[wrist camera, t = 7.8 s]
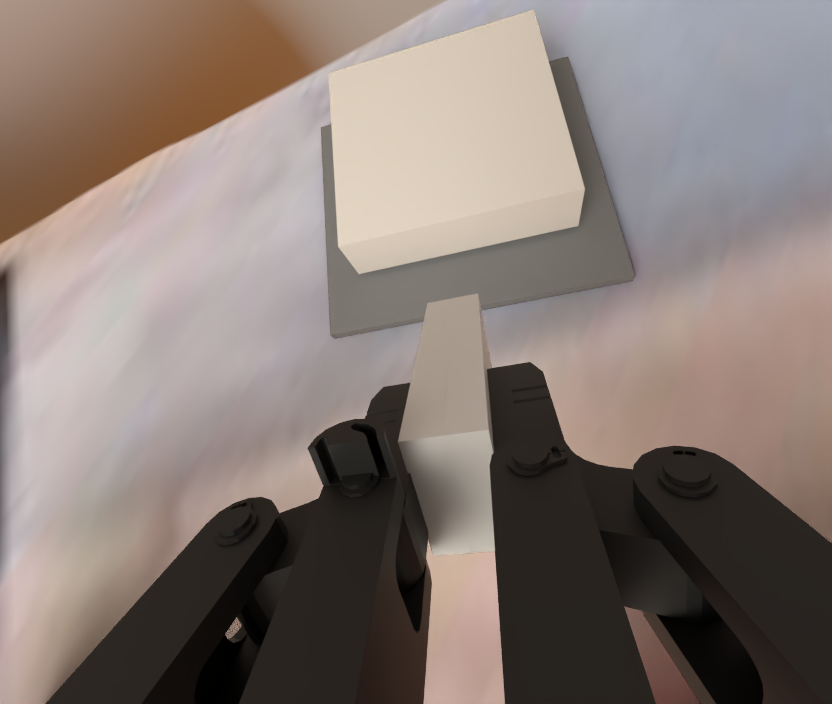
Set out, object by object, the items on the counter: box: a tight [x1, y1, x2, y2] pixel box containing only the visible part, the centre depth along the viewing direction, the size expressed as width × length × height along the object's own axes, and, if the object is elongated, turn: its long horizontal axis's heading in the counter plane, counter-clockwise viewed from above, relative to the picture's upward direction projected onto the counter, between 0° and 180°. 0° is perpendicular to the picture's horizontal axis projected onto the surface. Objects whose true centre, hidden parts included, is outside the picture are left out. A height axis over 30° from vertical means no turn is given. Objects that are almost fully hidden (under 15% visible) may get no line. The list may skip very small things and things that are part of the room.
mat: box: [321, 57, 635, 338], centre depth 26 cm, size 16×15×1 cm
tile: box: [328, 10, 585, 274], centre depth 25 cm, size 12×3×12 cm
